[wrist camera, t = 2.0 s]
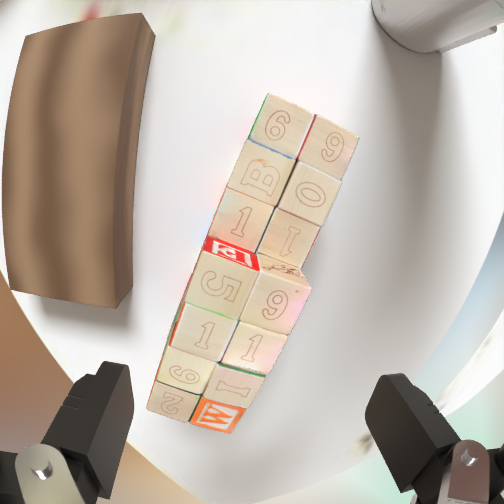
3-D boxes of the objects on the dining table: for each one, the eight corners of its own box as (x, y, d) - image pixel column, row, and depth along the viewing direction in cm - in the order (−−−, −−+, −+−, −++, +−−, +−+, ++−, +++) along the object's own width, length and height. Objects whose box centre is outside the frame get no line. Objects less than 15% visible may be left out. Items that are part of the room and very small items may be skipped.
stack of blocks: (256, 116, 24) (277, 74, 12) (320, 145, 25) (387, 133, 14) (171, 326, 29) (143, 412, 17) (229, 346, 30) (230, 437, 18)
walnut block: (155, 35, 21) (141, 12, 16) (132, 285, 27) (115, 308, 23) (50, 49, 20) (25, 36, 15) (35, 272, 26) (10, 289, 22)
